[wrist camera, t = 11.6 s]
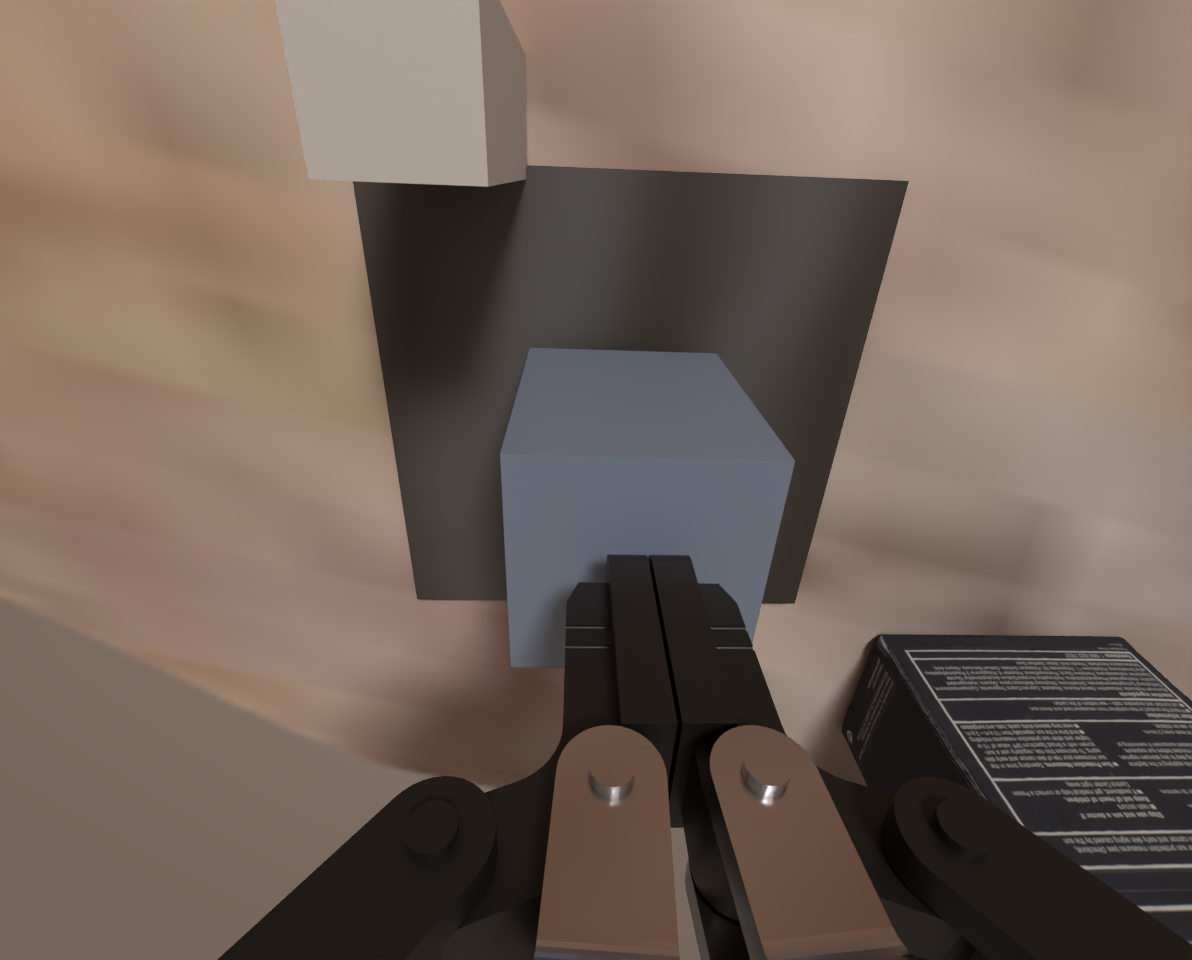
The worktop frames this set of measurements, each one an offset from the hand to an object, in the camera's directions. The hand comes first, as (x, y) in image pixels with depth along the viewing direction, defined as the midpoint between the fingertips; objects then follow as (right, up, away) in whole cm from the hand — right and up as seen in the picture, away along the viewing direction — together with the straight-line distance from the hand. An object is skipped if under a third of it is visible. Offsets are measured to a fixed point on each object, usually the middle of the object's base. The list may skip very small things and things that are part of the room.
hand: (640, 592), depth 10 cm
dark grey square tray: (0, +4, +7) cm, 8 cm away
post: (-4, +11, +3) cm, 12 cm away
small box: (+15, -7, +14) cm, 22 cm away
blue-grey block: (0, +3, +6) cm, 7 cm away
